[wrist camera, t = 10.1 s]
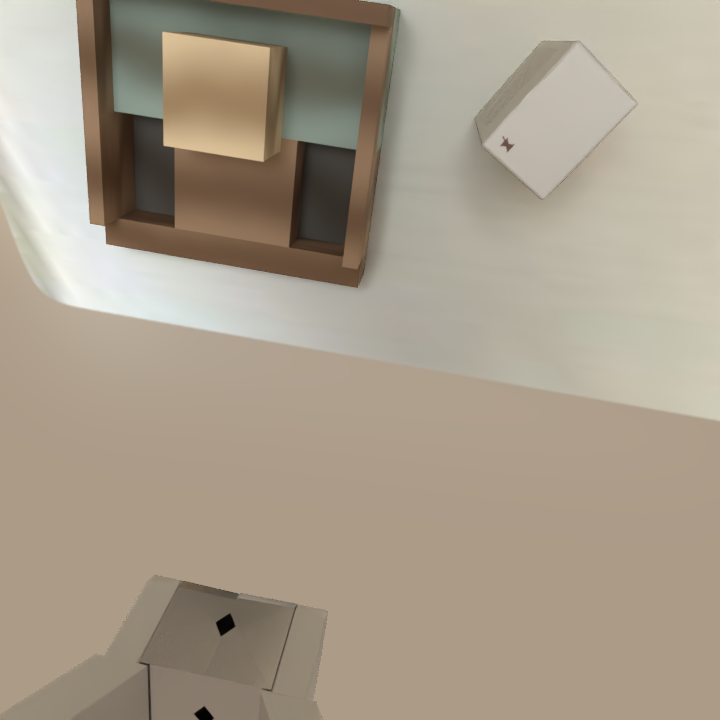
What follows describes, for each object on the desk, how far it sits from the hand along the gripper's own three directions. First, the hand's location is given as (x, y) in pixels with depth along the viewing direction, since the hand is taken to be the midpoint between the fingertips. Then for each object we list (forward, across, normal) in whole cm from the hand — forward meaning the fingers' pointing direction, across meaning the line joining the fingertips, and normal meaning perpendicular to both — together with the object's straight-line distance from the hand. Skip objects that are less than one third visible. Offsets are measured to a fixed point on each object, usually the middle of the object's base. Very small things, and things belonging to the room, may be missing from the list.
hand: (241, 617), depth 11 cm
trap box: (+37, +11, -2) cm, 39 cm away
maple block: (+34, +11, -4) cm, 36 cm away
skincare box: (+37, -7, -6) cm, 38 cm away
